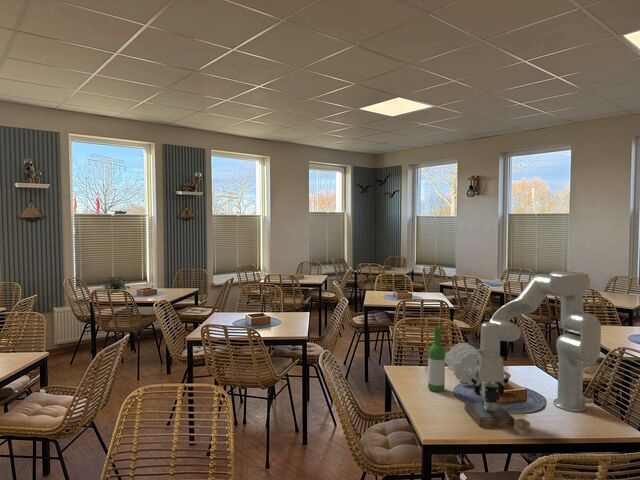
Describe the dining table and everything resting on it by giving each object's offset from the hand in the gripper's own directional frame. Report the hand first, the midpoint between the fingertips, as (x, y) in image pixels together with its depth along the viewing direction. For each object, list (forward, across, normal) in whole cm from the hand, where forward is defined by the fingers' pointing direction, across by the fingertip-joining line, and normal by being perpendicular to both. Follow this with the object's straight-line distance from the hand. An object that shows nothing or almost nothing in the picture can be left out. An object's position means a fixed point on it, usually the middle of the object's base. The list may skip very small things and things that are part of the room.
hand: (489, 394), depth 185 cm
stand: (+10, 0, 0) cm, 10 cm away
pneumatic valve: (+7, +1, 0) cm, 7 cm away
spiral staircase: (+10, +8, +46) cm, 48 cm away
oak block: (+10, +8, -12) cm, 17 cm away
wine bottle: (+10, -12, +32) cm, 36 cm away
